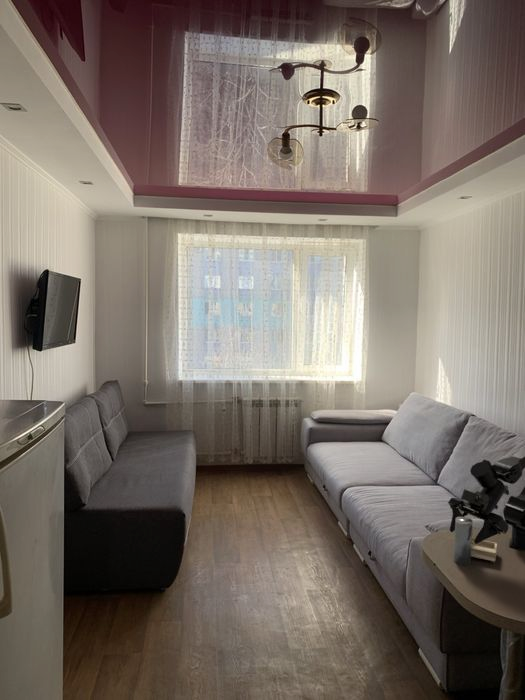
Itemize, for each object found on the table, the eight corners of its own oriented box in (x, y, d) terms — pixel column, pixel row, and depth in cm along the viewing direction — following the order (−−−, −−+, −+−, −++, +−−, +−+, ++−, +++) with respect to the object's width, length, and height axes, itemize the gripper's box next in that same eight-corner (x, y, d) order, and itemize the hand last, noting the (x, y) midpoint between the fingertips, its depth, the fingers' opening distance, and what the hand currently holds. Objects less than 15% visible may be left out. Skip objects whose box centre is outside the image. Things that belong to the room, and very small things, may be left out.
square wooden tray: (469, 548, 168) (469, 537, 168) (496, 553, 165) (497, 543, 164) (466, 558, 161) (467, 547, 161) (494, 564, 157) (495, 553, 157)
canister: (454, 556, 162) (456, 515, 161) (471, 560, 160) (473, 518, 159) (452, 562, 158) (454, 520, 157) (469, 566, 155) (471, 523, 155)
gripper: (453, 472, 168) (426, 510, 163) (504, 489, 151) (475, 533, 147) (469, 493, 172) (443, 531, 167) (520, 512, 156) (493, 555, 151)
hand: (462, 537), depth 158 cm, fingers open, 9 cm apart
